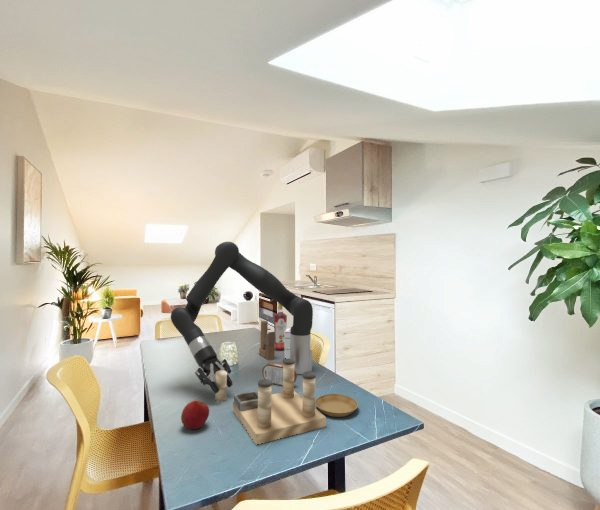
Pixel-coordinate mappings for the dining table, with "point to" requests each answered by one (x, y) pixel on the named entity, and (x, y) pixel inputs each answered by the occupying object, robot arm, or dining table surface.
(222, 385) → the birch leg
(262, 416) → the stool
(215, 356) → the robot arm
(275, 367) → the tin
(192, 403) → the apple
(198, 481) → the dining table surface
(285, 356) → the syrup box
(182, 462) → the dining table surface
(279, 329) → the liquor
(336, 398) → the plant saucer
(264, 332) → the wooden block
